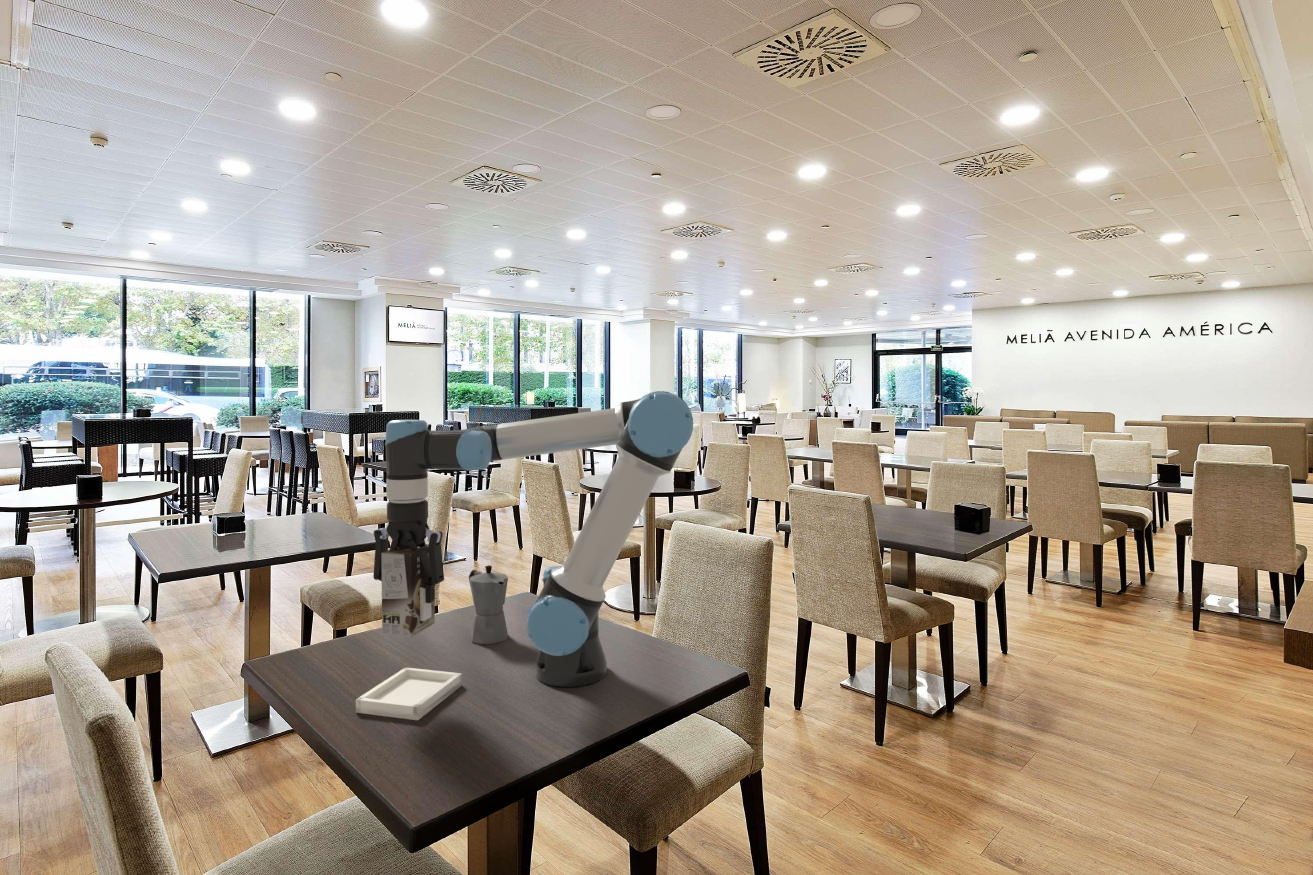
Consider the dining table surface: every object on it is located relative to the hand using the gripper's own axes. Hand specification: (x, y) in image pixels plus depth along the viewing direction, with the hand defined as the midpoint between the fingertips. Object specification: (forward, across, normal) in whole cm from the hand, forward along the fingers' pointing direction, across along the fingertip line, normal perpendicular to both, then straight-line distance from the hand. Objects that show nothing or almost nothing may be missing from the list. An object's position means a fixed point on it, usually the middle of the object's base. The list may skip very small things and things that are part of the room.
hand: (409, 617), depth 137 cm
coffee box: (+3, 0, 0) cm, 3 cm away
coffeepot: (+16, +2, -36) cm, 39 cm away
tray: (+16, 0, 0) cm, 16 cm away
